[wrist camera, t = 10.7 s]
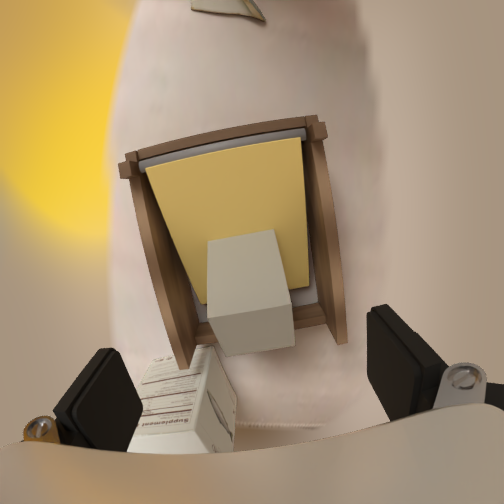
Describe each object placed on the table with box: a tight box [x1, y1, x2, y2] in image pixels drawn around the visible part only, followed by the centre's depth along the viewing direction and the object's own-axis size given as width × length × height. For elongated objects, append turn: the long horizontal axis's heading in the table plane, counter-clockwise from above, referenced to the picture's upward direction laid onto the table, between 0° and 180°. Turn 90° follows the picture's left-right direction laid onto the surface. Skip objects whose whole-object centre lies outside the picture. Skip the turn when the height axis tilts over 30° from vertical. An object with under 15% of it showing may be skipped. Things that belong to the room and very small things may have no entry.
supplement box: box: [127, 346, 237, 454], centre depth 24 cm, size 7×7×13 cm
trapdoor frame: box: [118, 115, 348, 370], centre depth 23 cm, size 17×13×8 cm
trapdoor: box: [139, 128, 309, 304], centre depth 23 cm, size 14×11×1 cm
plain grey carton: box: [207, 229, 295, 357], centre depth 22 cm, size 5×5×7 cm
